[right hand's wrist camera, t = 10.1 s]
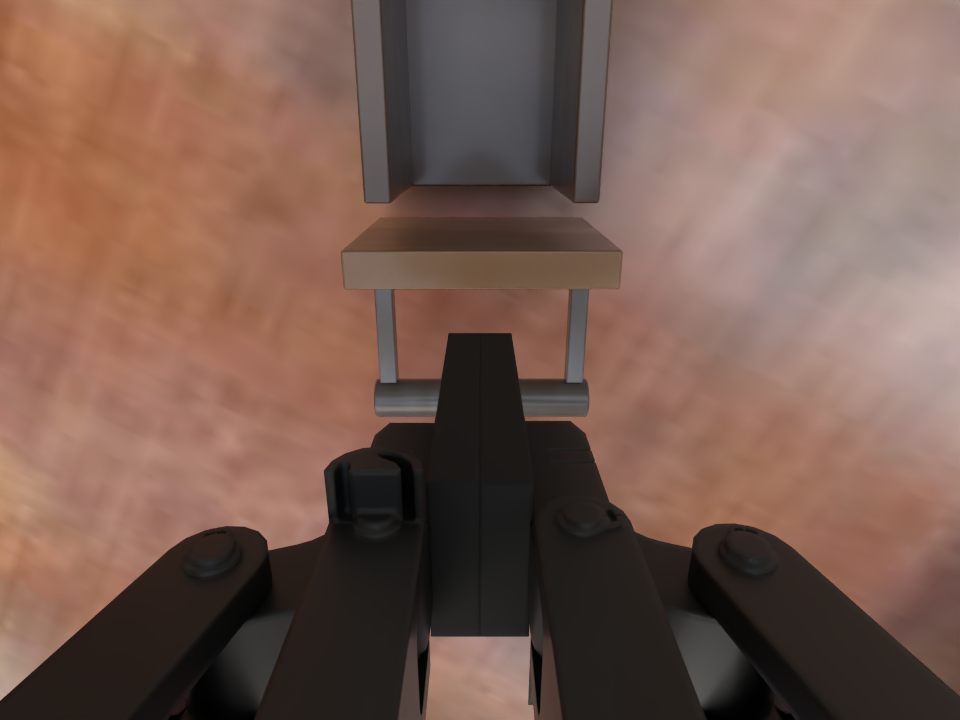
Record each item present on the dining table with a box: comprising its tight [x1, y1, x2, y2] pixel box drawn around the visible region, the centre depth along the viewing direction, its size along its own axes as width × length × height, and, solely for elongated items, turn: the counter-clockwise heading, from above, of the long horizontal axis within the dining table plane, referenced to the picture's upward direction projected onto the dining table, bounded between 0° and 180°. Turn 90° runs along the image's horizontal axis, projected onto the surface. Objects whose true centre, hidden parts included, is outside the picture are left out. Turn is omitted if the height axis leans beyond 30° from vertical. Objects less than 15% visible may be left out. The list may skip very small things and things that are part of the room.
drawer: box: [341, 0, 623, 417], centre depth 20 cm, size 25×8×8 cm, turn 0°
